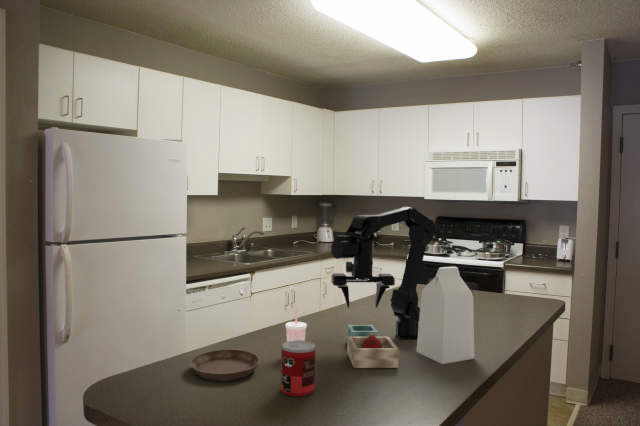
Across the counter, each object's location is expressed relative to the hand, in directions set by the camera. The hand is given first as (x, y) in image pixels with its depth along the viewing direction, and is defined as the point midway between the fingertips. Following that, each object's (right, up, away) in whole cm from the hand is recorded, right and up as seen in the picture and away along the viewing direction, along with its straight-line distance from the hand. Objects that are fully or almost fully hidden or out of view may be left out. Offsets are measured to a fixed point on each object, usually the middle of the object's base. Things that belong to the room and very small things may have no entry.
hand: (362, 307), depth 159 cm
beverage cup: (-20, -12, -10) cm, 25 cm away
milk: (+24, -13, -6) cm, 28 cm away
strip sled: (+1, -12, -7) cm, 14 cm away
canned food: (-18, -14, -36) cm, 43 cm away
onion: (+2, -13, -14) cm, 19 cm away
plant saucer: (-38, -13, -24) cm, 46 cm away
